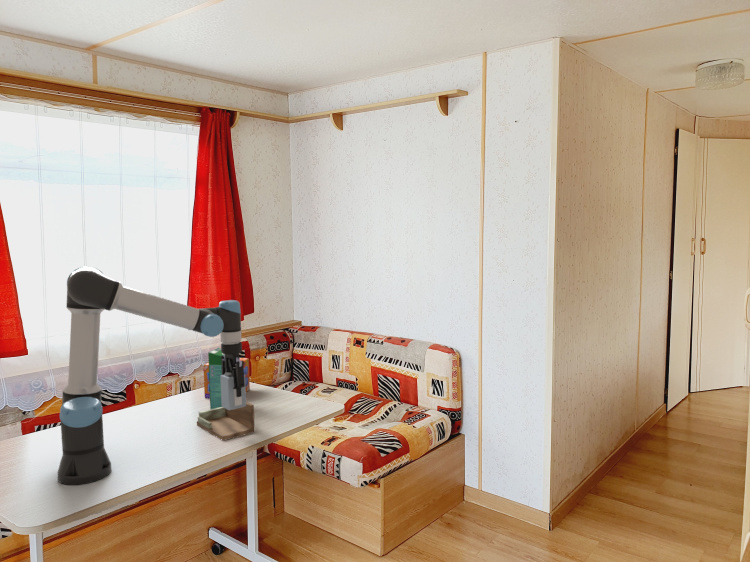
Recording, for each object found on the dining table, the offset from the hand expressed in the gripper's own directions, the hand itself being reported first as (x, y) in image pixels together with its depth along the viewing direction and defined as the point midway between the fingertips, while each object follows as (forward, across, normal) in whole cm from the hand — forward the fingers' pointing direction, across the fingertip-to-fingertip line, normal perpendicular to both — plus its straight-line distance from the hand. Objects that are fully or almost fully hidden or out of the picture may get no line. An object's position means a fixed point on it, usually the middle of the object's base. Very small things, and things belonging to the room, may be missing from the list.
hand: (233, 402), depth 216 cm
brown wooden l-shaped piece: (+12, +7, 0) cm, 14 cm away
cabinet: (+1, 0, 0) cm, 1 cm away
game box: (+12, +48, -22) cm, 54 cm away
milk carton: (+12, +31, -12) cm, 35 cm away
